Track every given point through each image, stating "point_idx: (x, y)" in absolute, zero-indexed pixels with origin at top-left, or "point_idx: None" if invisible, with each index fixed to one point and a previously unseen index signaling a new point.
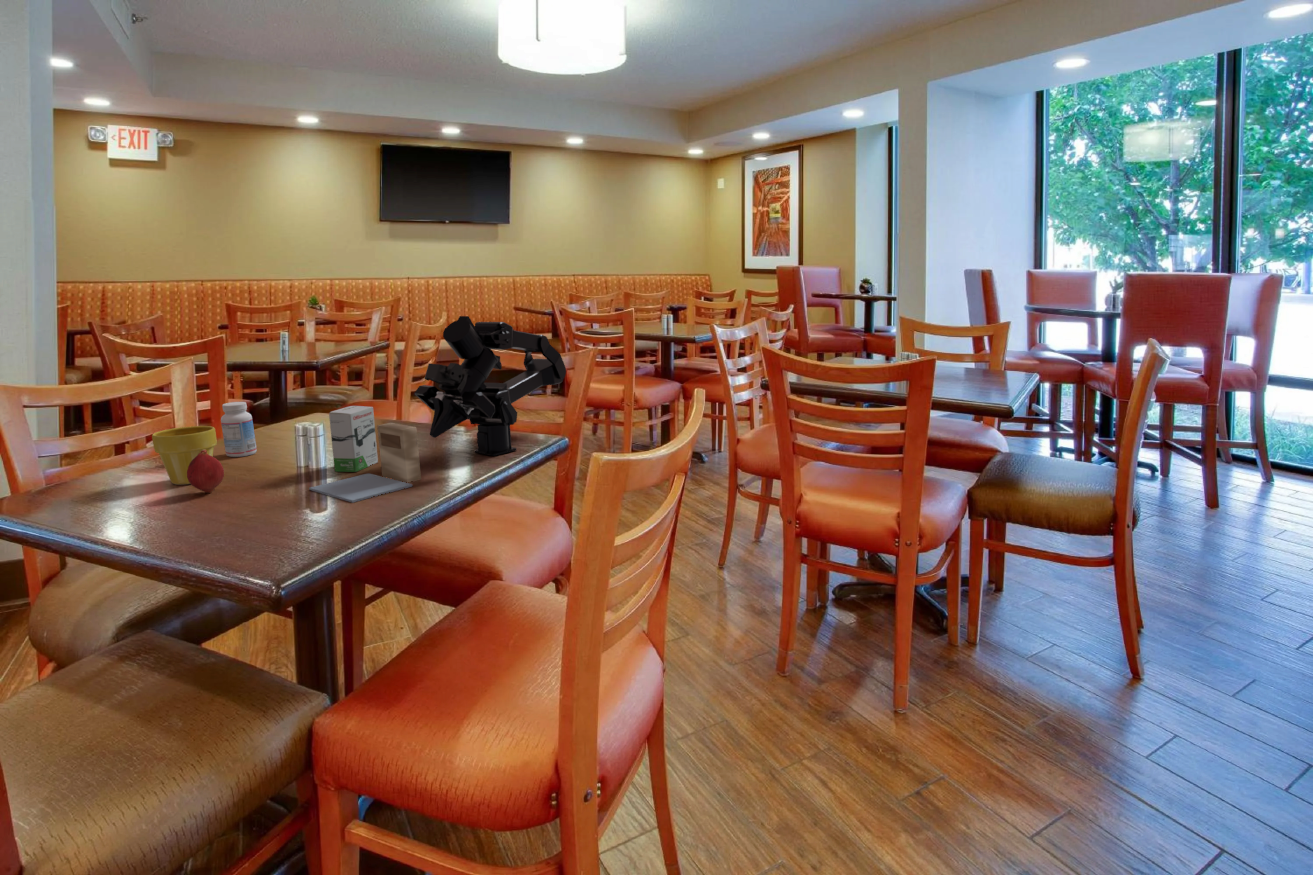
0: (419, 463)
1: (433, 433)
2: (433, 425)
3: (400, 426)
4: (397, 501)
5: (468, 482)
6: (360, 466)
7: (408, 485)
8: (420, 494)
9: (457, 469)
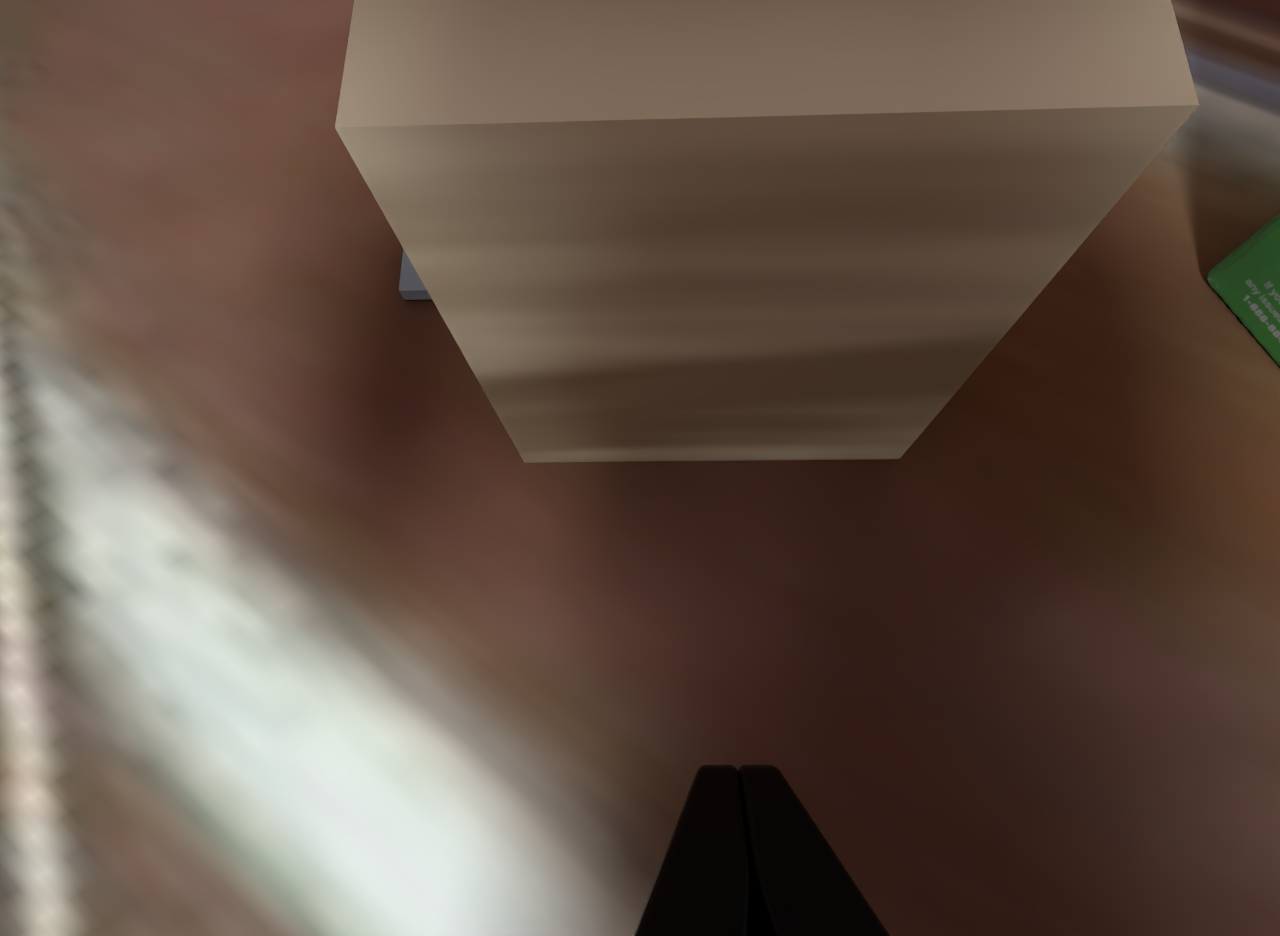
0: (494, 407)
1: (689, 791)
2: (796, 904)
3: (668, 18)
4: (213, 65)
5: (60, 629)
6: (1274, 320)
7: (404, 261)
8: (189, 221)
9: (503, 905)
